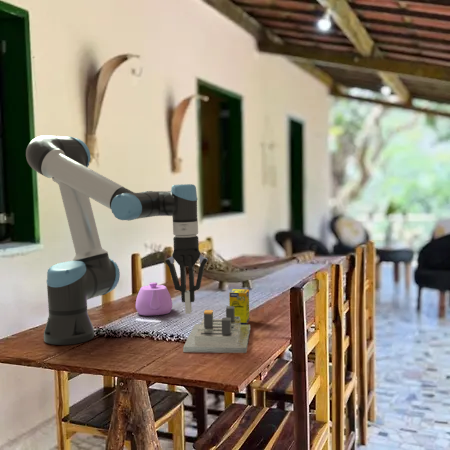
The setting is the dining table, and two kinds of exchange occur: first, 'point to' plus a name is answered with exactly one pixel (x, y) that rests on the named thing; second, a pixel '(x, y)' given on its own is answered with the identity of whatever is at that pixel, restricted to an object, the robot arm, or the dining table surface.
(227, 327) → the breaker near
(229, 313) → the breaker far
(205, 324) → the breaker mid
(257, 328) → the dining table surface
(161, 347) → the dining table surface
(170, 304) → the teapot
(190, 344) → the panel
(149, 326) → the dining table surface
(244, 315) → the supplement box
